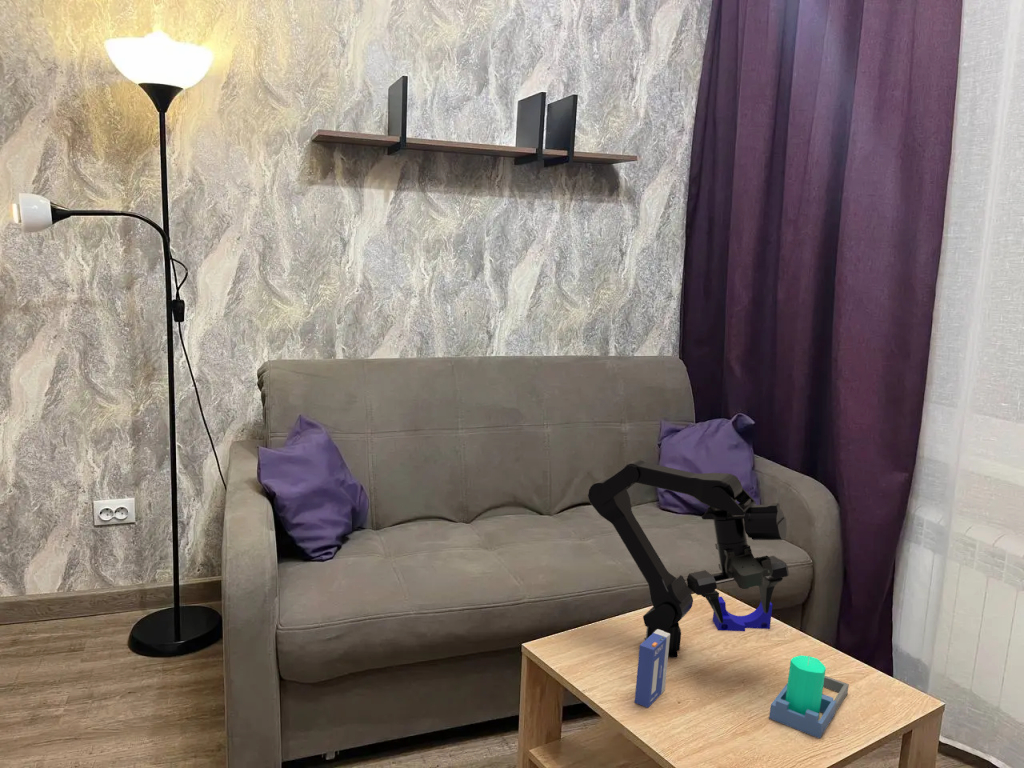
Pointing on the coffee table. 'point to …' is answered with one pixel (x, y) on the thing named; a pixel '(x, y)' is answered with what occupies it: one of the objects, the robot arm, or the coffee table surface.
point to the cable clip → (743, 619)
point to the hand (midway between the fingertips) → (743, 617)
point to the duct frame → (810, 719)
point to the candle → (805, 684)
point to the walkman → (652, 668)
